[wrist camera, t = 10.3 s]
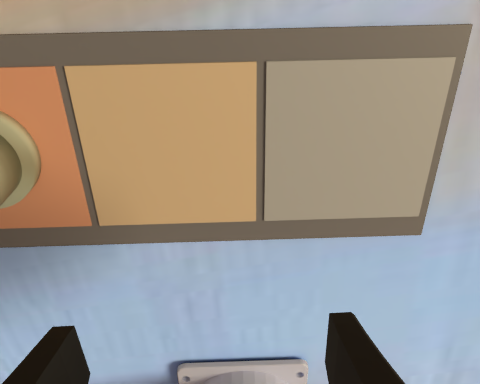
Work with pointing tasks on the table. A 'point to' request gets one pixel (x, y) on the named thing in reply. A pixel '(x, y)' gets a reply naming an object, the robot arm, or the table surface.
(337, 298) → the table surface
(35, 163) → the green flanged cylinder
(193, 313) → the table surface
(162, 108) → the game board
